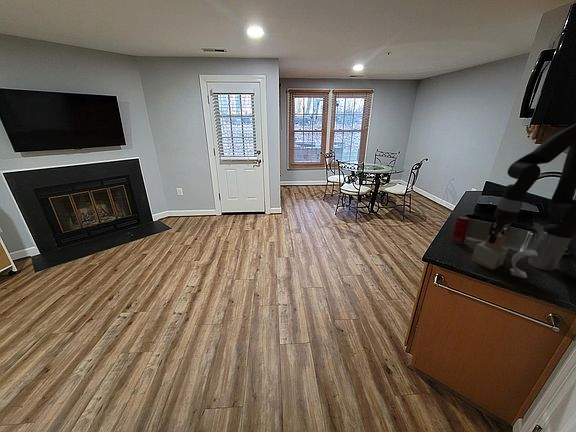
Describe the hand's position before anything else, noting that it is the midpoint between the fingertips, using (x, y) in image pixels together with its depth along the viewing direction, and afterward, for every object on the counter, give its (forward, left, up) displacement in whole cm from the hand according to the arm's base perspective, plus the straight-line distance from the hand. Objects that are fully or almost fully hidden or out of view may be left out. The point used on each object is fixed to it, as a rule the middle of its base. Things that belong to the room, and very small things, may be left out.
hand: (494, 241), depth 110 cm
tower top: (0, 0, -7) cm, 7 cm away
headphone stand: (-2, +11, -12) cm, 16 cm away
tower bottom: (0, 0, -12) cm, 12 cm away
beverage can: (-9, -19, -12) cm, 24 cm away
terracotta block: (0, 0, -3) cm, 3 cm away
